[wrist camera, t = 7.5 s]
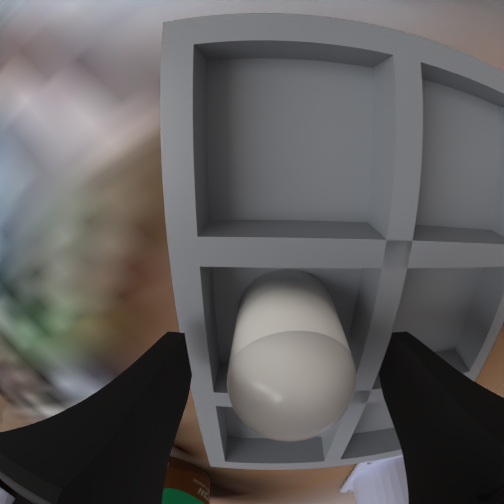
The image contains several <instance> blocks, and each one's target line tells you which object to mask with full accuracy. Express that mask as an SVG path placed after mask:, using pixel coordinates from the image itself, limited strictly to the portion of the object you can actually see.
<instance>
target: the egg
mask: <svg viewBox="0 0 504 504" xmlns="http://www.w3.org/2000/svg"><path fill="white" fill-rule="evenodd" d="M355 386H356V370H355V365H354V361H353V358H352V355H351V352H350V349H349V346H348V343H347V340H346V337H345V334H344V331H343V328H342V326H341V323H340V320H339V317H338V314H337V312H336V309H335V306H334V303H333V301H332V298H331V295H330V293H329V291H328V289H327V288H326V286H325V285H324V284H323V283H322V282H321V281H320V280H319V279H318V278H316V277H315V276H313V275H311V274H309V273H307V272H304V271H301V270H296V269H280V270H274V271H271V272H268V273H265V274H263V275H261V276H260V277H258V278H256V279H255V280H254V281H252V282H251V283H250V284H249V285H248V286H247V288H246V289H245V290H244V292H243V294H242V296H241V298H240V301H239V306H238V312H237V318H236V324H235V330H234V336H233V342H232V348H231V354H230V360H229V366H228V373H227V390H228V395H229V399H230V402H231V404H232V407H233V409H234V410H235V412H236V414H237V415H238V417H239V418H240V419H241V420H242V421H243V423H244V424H245V425H247V426H248V427H249V428H250V429H252V430H253V431H254V432H256V433H258V434H260V435H262V436H264V437H266V438H269V439H273V440H278V441H286V442H294V441H302V440H306V439H310V438H313V437H315V436H318V435H320V434H322V433H324V432H325V431H327V430H328V429H330V428H331V427H332V426H333V425H335V424H336V423H337V422H338V421H339V420H340V418H341V417H342V416H343V415H344V413H345V412H346V410H347V409H348V407H349V405H350V403H351V401H352V398H353V395H354V391H355Z"/></svg>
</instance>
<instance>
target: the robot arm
mask: <svg viewBox="0 0 504 504" xmlns="http://www.w3.org/2000/svg"><path fill="white" fill-rule="evenodd" d="M191 378H192V372H191V366H190V361H189V355H188V350H187V344H186V338H185V333H179V332H167V333H166V334H165V335H164V336H162V337H161V338H160V339H159V340H158V341H157V342H156V343H155V344H154V345H153V346H152V347H151V348H150V349H149V350H147V351H146V352H145V353H144V354H143V355H142V356H141V357H140V358H139V359H138V360H137V361H135V362H134V363H133V364H132V365H131V366H130V367H129V368H127V369H126V370H125V371H124V372H123V373H121V374H120V375H119V376H118V377H116V378H115V379H114V380H113V381H111V382H110V383H109V384H107V385H106V386H105V387H103V388H102V389H100V390H99V391H98V392H96V393H94V394H93V395H91V396H90V397H88V398H87V399H85V400H83V401H82V402H80V403H78V404H76V405H74V406H72V407H70V408H68V409H66V410H65V411H63V412H61V413H59V414H56V415H54V416H52V417H49V418H47V419H45V420H42V421H39V422H37V423H34V424H31V425H28V426H25V427H21V428H17V429H13V430H9V431H5V432H0V479H1V480H2V481H3V482H5V483H6V484H7V485H8V486H9V487H11V488H12V489H13V490H14V491H16V492H17V493H18V494H17V496H16V498H14V497H13V496H11V495H10V494H9V493H7V492H6V491H5V490H3V489H2V488H0V504H162V496H163V489H164V483H165V477H166V471H167V466H168V461H169V456H170V453H171V449H172V446H173V443H174V440H175V437H176V433H177V430H178V427H179V424H180V421H181V418H182V415H183V412H184V409H185V406H186V403H187V400H188V395H189V390H190V384H191ZM379 378H380V383H381V388H382V392H383V397H384V400H385V403H386V405H387V408H388V411H389V414H390V417H391V420H392V422H393V425H394V428H395V431H396V434H397V437H398V440H399V443H400V446H401V450H402V454H403V455H399V456H395V457H390V458H386V459H381V460H375V461H370V462H364V463H358V464H357V465H356V467H355V468H354V470H353V471H352V473H351V475H350V476H349V478H348V479H347V480H346V482H345V483H344V485H343V486H342V488H341V489H340V490H341V492H342V493H344V492H351V491H354V498H355V504H504V398H503V397H501V396H499V395H497V394H495V393H493V392H491V391H489V390H488V389H486V388H484V387H482V386H481V385H479V384H477V383H476V382H474V381H473V380H471V379H470V378H468V377H467V376H465V375H464V374H462V373H461V372H460V371H458V370H457V369H455V368H454V367H453V366H451V365H450V364H449V363H447V362H446V361H445V360H444V359H442V358H441V357H440V356H439V355H437V354H436V353H435V352H433V351H432V350H431V349H430V348H428V347H427V346H426V345H425V344H423V343H422V342H421V341H419V340H418V339H417V338H416V337H414V336H413V335H411V334H410V333H408V332H407V331H404V332H393V333H392V335H391V338H390V341H389V344H388V347H387V351H386V354H385V357H384V360H383V362H382V365H381V368H380V371H379Z"/></svg>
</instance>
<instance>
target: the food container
mask: <svg viewBox="0 0 504 504" xmlns="http://www.w3.org/2000/svg"><path fill="white" fill-rule="evenodd" d="M210 486H211V480H210V478H209V476H208V475H207V474H206V473H205V472H203V471H202V470H200V469H199V468H197V467H195V466H193V465H191V464H189V463H187V462H184V461H182V460H179V459H176V458H173V457H170V456H169V461H168V466H167V471H166V477H165V483H164V489H163V496H162V504H209V503H210Z"/></svg>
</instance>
